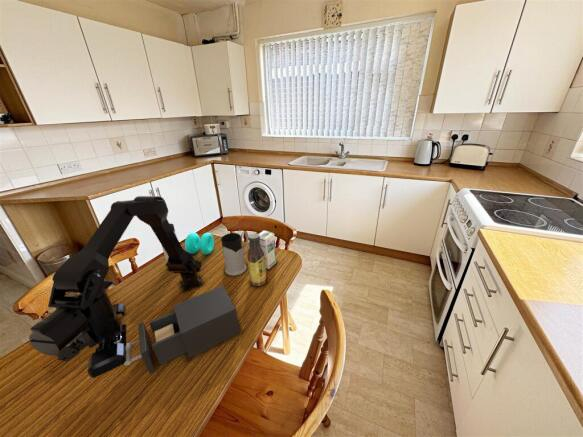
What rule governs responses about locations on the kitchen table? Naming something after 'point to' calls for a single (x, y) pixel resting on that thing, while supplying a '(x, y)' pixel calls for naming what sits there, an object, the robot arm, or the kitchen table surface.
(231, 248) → the grey black mug
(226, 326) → the dark grey box
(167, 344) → the open drawer
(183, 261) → the robot arm
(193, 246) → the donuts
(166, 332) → the block
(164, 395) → the kitchen table surface
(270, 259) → the syrup box
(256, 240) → the sauce bottle
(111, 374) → the kitchen table surface
